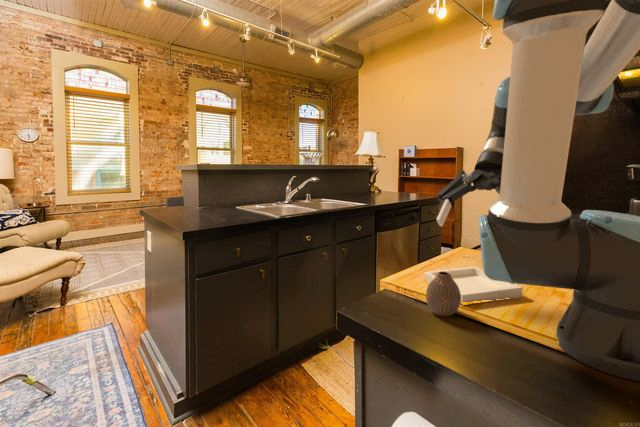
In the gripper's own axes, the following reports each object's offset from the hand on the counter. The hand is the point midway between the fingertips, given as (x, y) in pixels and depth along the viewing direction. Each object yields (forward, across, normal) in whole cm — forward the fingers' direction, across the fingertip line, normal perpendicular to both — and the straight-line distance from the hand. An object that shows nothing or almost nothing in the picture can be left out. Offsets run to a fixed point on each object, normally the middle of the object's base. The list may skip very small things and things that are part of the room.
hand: (467, 226), depth 75 cm
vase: (+20, -1, -3) cm, 21 cm away
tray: (+8, +1, -15) cm, 18 cm away
